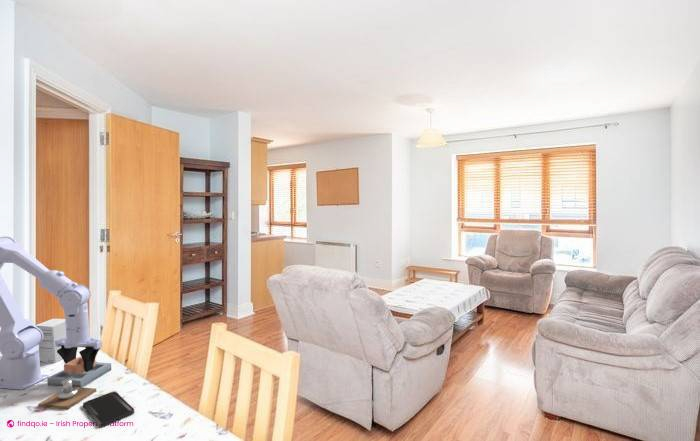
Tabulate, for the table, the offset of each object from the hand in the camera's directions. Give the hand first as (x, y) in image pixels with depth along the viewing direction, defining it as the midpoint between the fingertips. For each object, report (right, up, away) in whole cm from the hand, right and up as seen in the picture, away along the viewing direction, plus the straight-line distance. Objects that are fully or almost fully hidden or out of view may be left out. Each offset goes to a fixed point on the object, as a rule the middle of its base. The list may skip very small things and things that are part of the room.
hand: (80, 369), depth 114 cm
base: (+5, -3, -12) cm, 13 cm away
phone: (+20, -4, -17) cm, 26 cm away
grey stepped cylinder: (+5, -3, -12) cm, 13 cm away
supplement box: (-19, -2, +14) cm, 24 cm away
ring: (0, 0, 0) cm, 0 cm away
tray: (0, -2, 0) cm, 2 cm away
